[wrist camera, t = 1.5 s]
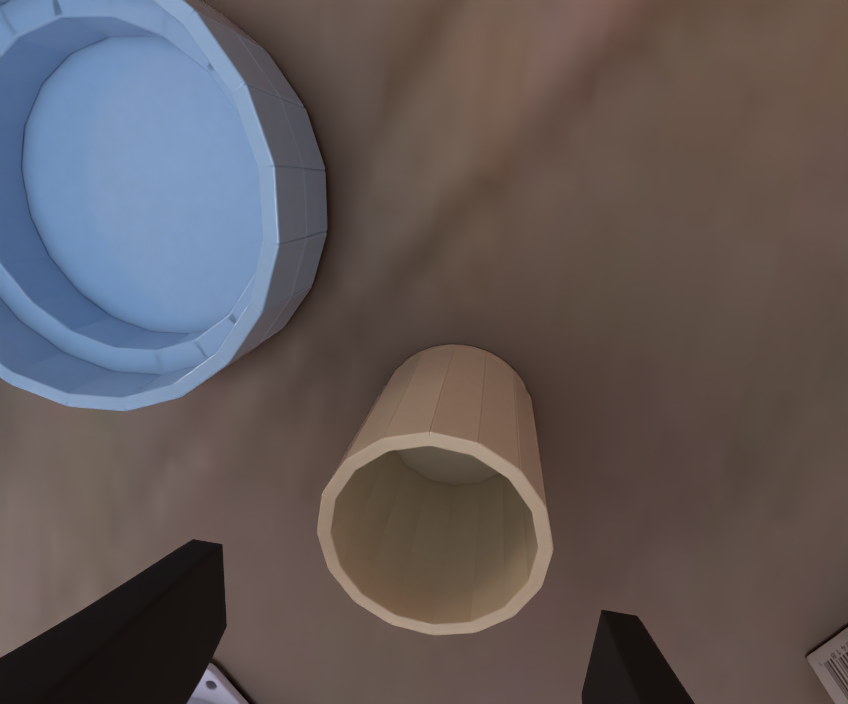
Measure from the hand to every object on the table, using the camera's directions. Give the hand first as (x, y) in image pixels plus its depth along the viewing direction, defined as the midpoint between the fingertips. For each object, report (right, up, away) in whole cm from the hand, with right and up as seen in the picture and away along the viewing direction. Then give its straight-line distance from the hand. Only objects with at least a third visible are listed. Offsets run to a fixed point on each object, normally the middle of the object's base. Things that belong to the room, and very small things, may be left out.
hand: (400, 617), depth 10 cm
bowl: (-8, +10, +8) cm, 16 cm away
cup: (+2, +3, +9) cm, 10 cm away
